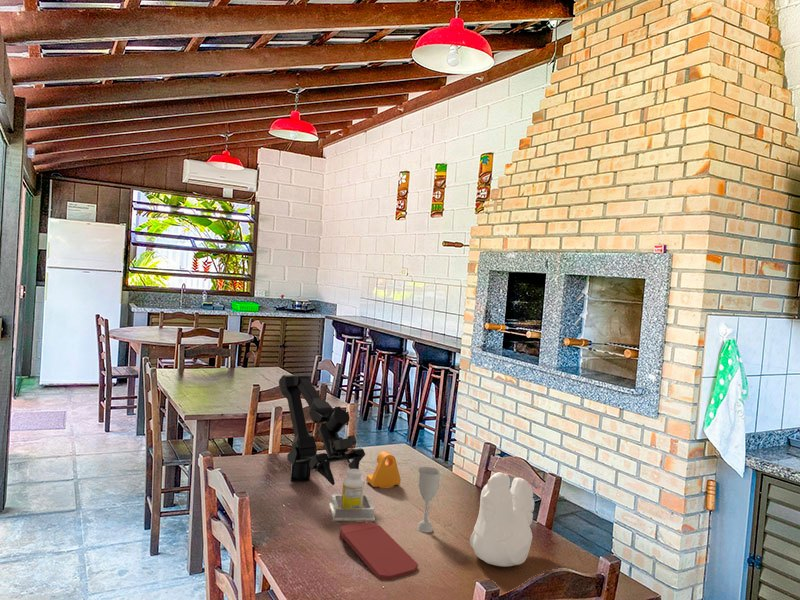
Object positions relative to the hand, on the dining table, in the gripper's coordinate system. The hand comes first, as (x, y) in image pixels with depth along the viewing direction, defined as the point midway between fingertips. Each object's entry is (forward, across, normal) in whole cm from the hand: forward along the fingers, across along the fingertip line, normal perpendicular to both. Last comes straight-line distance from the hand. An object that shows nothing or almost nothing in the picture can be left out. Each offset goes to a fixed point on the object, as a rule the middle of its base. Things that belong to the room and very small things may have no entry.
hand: (345, 482), depth 188 cm
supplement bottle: (+9, 0, +2) cm, 9 cm away
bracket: (-2, +25, +15) cm, 29 cm away
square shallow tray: (+9, 0, +2) cm, 9 cm away
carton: (+28, -10, -16) cm, 33 cm away
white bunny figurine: (+41, +22, -30) cm, 55 cm away
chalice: (+23, +14, -12) cm, 29 cm away
